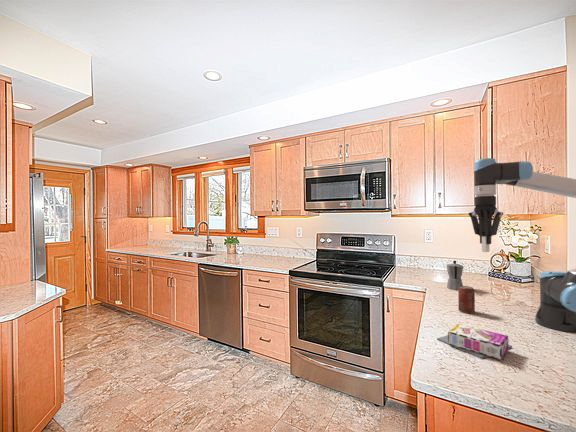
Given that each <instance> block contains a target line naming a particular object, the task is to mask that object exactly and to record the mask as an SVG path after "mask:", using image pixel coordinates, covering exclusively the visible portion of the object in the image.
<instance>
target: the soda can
mask: <svg viewBox="0 0 576 432" xmlns="http://www.w3.org/2000/svg"><path fill="white" fill-rule="evenodd" d="M457 291H458V293H457V294H458V311H459V312H461V313H464V314H470V315H471V314H474V313H475V311H476V304H475V302H476V300H475V299H476V297H475V296H476V295H475V293H476V292H475V289H474V287H472V286H469V285H468V286H467V285H463V286H460V287H459V288H458V290H457Z"/></svg>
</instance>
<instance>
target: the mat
mask: <svg viewBox="0 0 576 432" xmlns="http://www.w3.org/2000/svg"><path fill="white" fill-rule="evenodd" d="M436 340H437V341H439V342H442V343H443V342H444V343H443V344H446V345H449V346H451V347H452V348H456V349H457V348H458V350H460V351H462V352H464V353H467V354H469V355H471V356H474V357H476V358H479V359H484V358H487V357H489V356H488V355H484V354H481V353H477V352H474V351H471V350H467V349H464V348H460V347H457V346H453V345H450V344H448V334H447V335H443V336H440V337H437V339H436ZM511 348H513V345H511V344H508V350H509V349H511Z"/></svg>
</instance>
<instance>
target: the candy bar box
mask: <svg viewBox="0 0 576 432" xmlns="http://www.w3.org/2000/svg"><path fill="white" fill-rule="evenodd" d="M447 335H448V344H450V345H453V346H457V347H460V348H464V349H467V350H471V351H474V352H477V353H481V354H484V355H488V356H487V357H491V358H495V359H497V360H503V358H504V357H505V355H506V354H507V352H508V350H509V349H508V345H509V335H506V334H502V333H498V332H494V331H489V330H485V329H480V328H478V327H477V328H476V327H473V326H469V325H465V324H464V325H463V324H460V323H457V324H456V325H454V326H453V327H452V328H451V329H450V330H448V331H447ZM448 344H447V345H448ZM450 345H449V346H450ZM453 346H452V347H453Z"/></svg>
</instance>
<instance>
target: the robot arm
mask: <svg viewBox="0 0 576 432" xmlns="http://www.w3.org/2000/svg"><path fill="white" fill-rule="evenodd" d="M473 164H474V165H473V175H474V176H473V177H474V179H473V181H474V182H473V183H474V187H473V189H474V191H473V193H474V198H473V199H474V201H473V202H474V208H473V210H472V211H471V212H468V216H469V217H470V220H471V224H472V228H473V233H474V234H475V235H477V236H479V244H480V245H481V252H482V253H489V252H490V245H491V244H492V237H493V236H496V235H498V230H499V225H500V222H501V218H502V216H503V215H504V212H502V211H499V210H498V208H497V206H496V205H497V196H496V194H497V185H507V186H513V187H518V188H522V189H523V188H524V189H528V190H532V191H533V190H534V191H538V192H544V193H548V194H554V195H558V196H563V197H564V196H565V197H570V198H574V199H576V178H571V177H567V176H566V177H565V176H560V175H555V174H554V175H553V174H548V173H544V172H538V171H534V166H533V164H532V162H530V161H528V160H527V161H521V160H520V161H511V162H497V161H496V159H495V158H492V157H490V158H487V157H486V158H480V159H477V160H475V161H474V163H473ZM493 216H494V217H493ZM539 300H540V301H539V302H540V304H539V306H538V309H537V311H536V313H535V316H534V317H535V318H534V319H535V323H536V324H538V325H540V326H542V327H544V328H545V327H546V328H548V329H551V330H557V331H561V332H567V333H568V332H569V333H576V267H575V268H573V269H569V270H567V271H550V270H548V271H547V270H545V271H544V270H543V271H541V272H540V276H539Z"/></svg>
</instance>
